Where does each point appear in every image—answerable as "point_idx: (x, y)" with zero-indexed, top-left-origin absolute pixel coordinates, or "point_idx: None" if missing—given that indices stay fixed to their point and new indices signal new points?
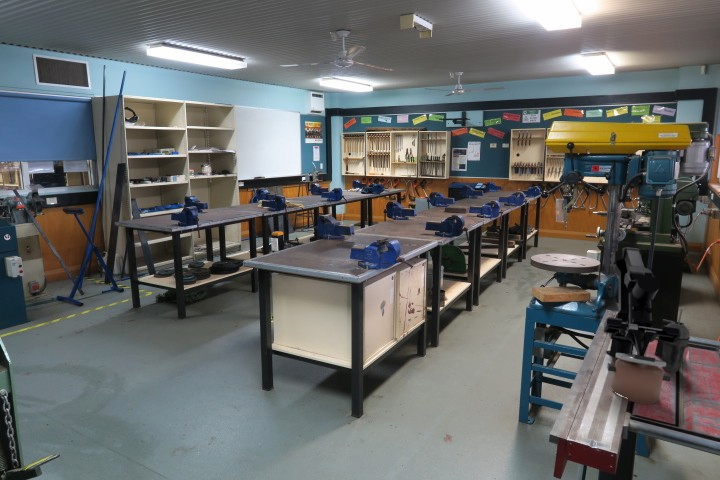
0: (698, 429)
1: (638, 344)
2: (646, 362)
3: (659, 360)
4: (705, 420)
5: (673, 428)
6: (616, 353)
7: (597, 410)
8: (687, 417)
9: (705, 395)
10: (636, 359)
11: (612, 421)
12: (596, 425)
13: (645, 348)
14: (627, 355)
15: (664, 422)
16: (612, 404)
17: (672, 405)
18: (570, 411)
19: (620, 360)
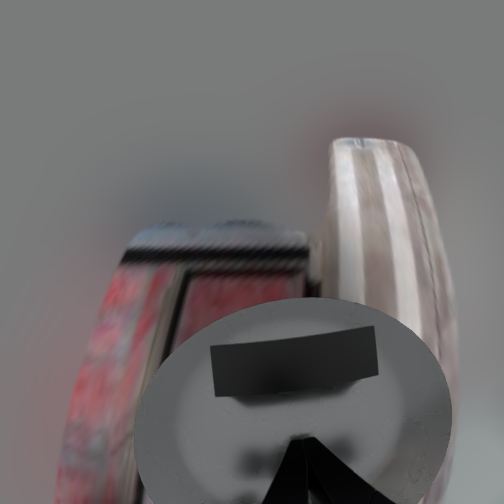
0: (138, 280)
1: (362, 488)
2: (281, 300)
3: (169, 494)
4: (104, 338)
5: (200, 254)
6: (445, 444)
7: (387, 246)
8: (144, 335)
9: (70, 487)
10: (350, 303)
11: (346, 214)
12: (371, 186)
13: (281, 485)
14: (387, 457)
15: (217, 273)
16: (359, 302)
17: None
18: (429, 213)
19: None
